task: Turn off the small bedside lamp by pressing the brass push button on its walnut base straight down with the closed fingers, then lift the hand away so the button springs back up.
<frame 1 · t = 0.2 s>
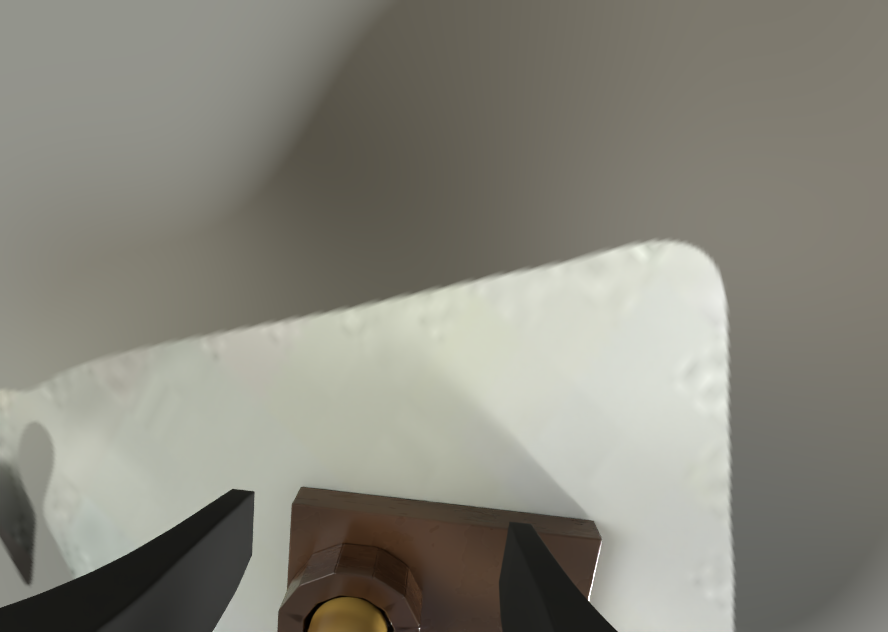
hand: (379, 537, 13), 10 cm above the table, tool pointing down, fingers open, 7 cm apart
lamp base: (434, 601, 26), on the table
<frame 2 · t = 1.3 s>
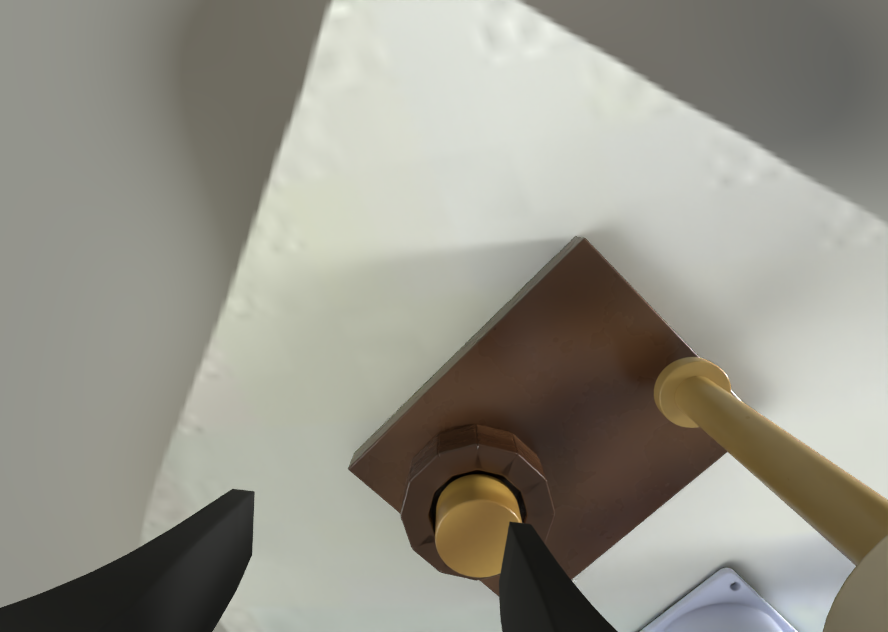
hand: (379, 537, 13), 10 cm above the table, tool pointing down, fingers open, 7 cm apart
lamp switch: (478, 524, 20), point 4 cm above the table, slide at 0.1 cm
lamp: (652, 362, 23), resting on lamp base
lamp base: (545, 431, 24), on the table
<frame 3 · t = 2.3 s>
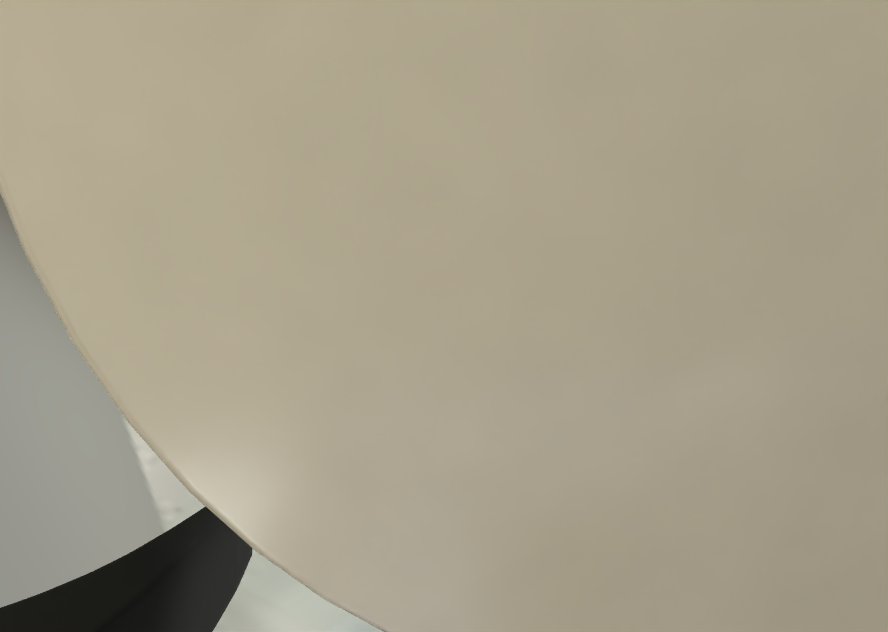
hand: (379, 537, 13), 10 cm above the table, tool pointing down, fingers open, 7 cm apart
lamp: (479, 189, 21), resting on lamp base
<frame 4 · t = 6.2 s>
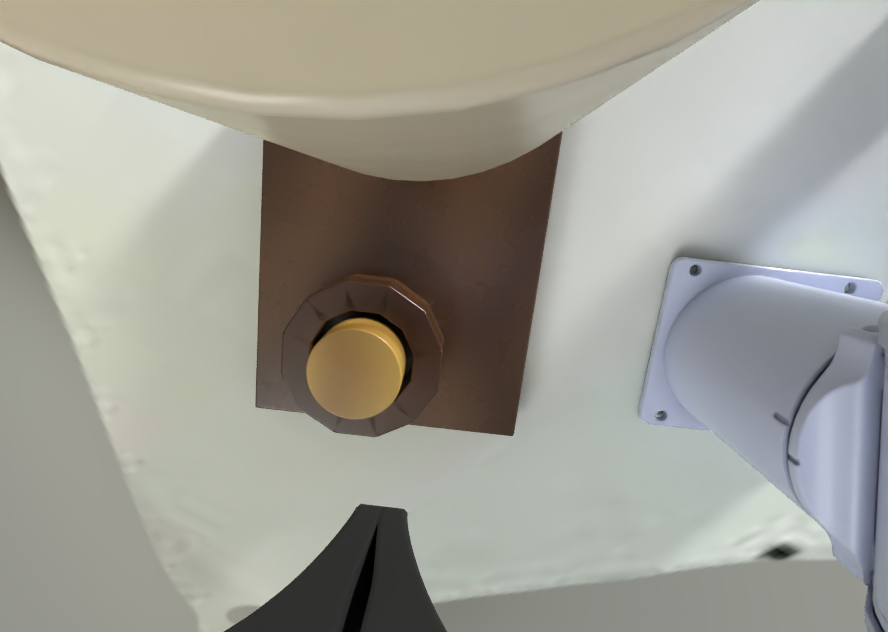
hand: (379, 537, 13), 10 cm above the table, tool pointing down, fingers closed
lamp switch: (358, 367, 19), point 4 cm above the table, slide at 0.1 cm
lamp: (439, 120, 21), resting on lamp base
lamp base: (403, 257, 22), on the table
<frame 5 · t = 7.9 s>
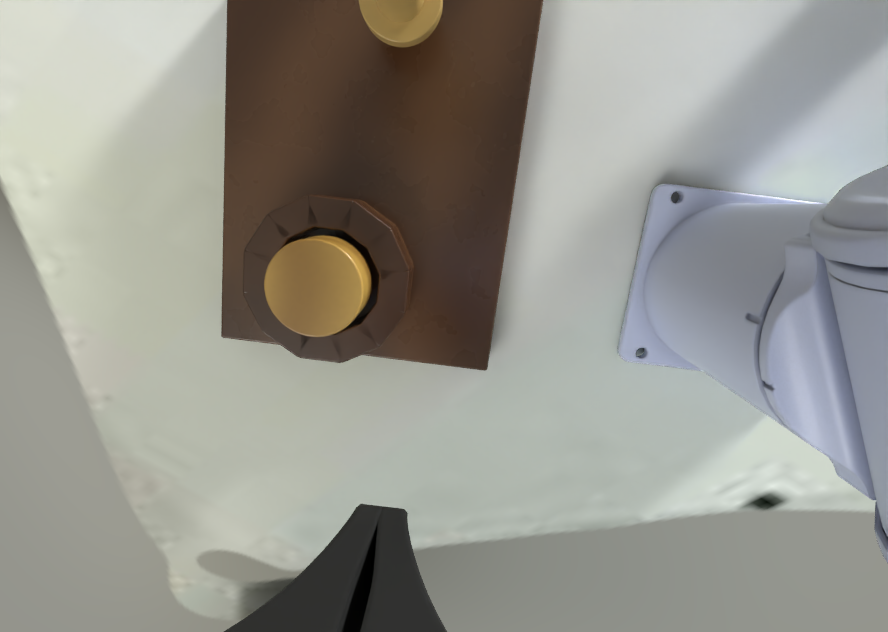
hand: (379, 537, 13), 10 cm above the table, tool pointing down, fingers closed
lamp switch: (320, 284, 18), point 4 cm above the table, slide at 0.1 cm
lamp: (411, 37, 20), resting on lamp base
lamp base: (374, 183, 21), on the table
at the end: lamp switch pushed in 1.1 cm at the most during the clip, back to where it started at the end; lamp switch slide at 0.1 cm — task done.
